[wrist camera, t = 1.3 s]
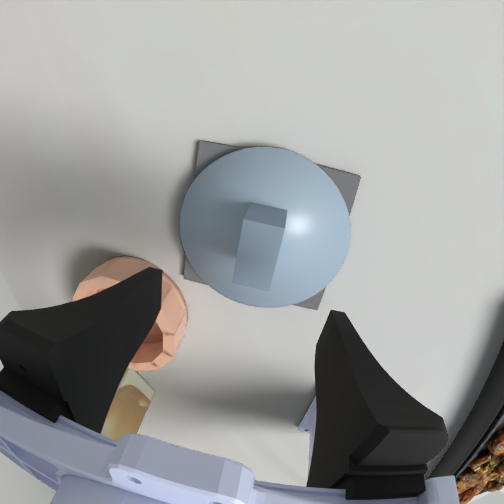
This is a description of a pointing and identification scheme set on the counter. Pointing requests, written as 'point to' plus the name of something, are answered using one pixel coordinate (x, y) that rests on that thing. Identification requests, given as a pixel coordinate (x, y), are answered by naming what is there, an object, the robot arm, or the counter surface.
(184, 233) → the lid
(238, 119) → the counter surface
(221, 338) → the counter surface
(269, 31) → the counter surface
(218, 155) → the mat
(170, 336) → the bowl
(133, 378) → the skincare box
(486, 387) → the food platter
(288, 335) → the counter surface
